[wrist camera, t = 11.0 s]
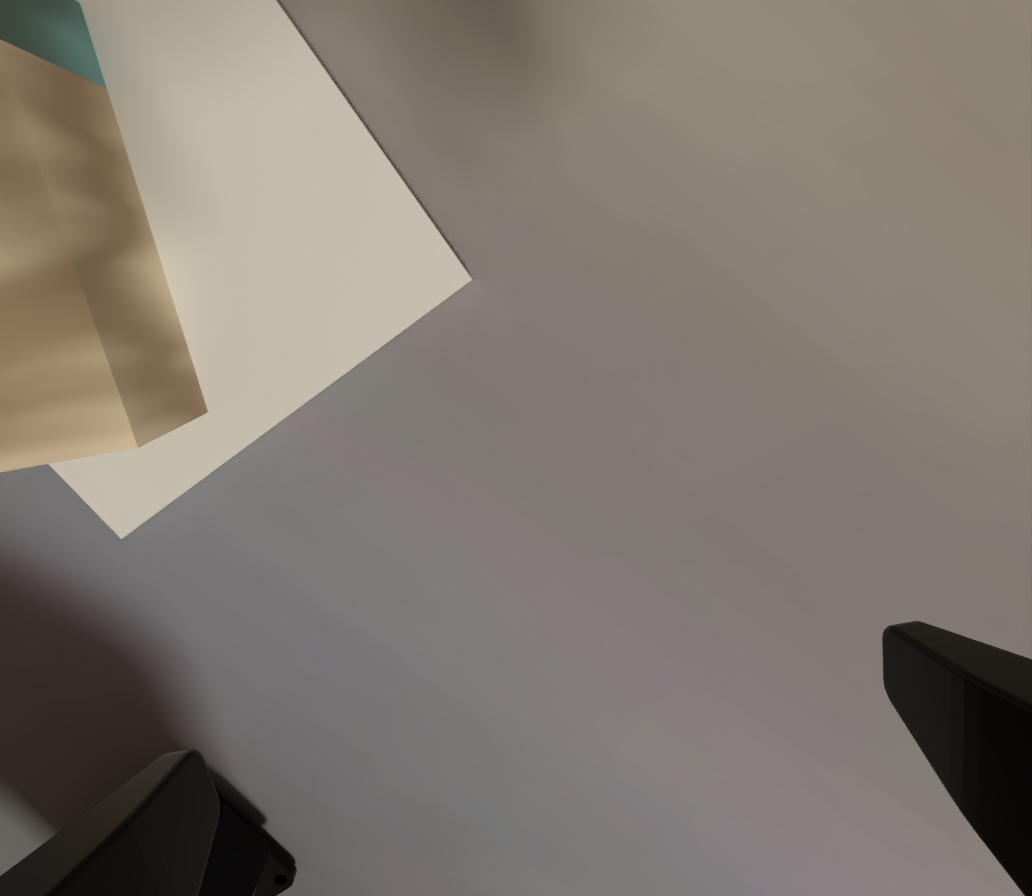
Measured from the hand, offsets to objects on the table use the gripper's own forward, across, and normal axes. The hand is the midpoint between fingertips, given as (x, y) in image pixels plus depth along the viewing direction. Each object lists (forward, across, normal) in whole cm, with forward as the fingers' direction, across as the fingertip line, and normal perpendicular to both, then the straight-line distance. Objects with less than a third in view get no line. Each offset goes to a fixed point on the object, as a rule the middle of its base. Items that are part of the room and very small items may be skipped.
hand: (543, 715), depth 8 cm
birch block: (+10, +11, -3) cm, 15 cm away
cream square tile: (+13, +10, -9) cm, 19 cm away
